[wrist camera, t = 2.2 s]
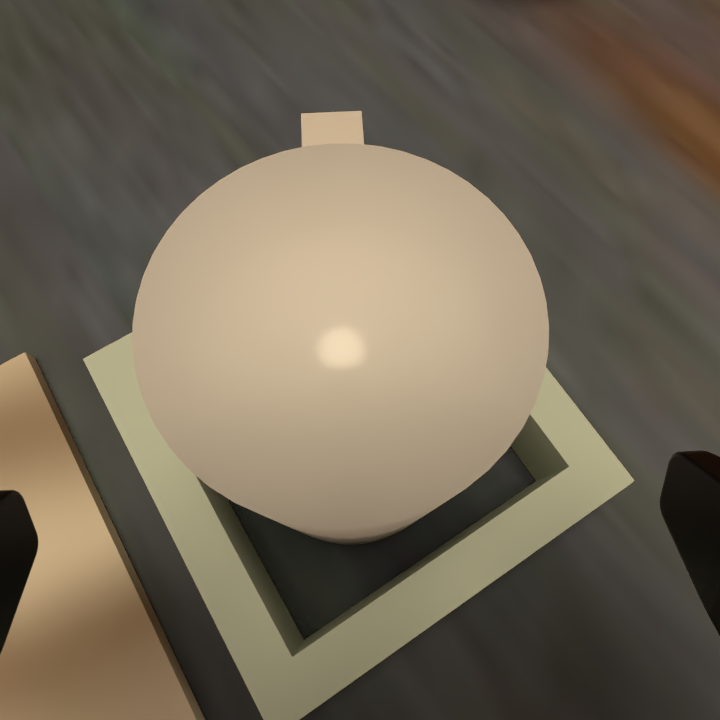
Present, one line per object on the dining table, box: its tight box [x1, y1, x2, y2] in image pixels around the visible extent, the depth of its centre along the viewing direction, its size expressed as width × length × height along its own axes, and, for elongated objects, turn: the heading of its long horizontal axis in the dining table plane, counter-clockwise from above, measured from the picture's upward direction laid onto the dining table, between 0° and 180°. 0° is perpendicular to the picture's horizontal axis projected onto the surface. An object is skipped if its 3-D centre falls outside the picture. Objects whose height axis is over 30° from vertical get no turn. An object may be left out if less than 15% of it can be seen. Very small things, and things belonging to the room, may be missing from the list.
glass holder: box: [83, 332, 634, 720], centre depth 17 cm, size 11×11×3 cm
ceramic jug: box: [132, 111, 549, 545], centre depth 14 cm, size 8×6×10 cm
